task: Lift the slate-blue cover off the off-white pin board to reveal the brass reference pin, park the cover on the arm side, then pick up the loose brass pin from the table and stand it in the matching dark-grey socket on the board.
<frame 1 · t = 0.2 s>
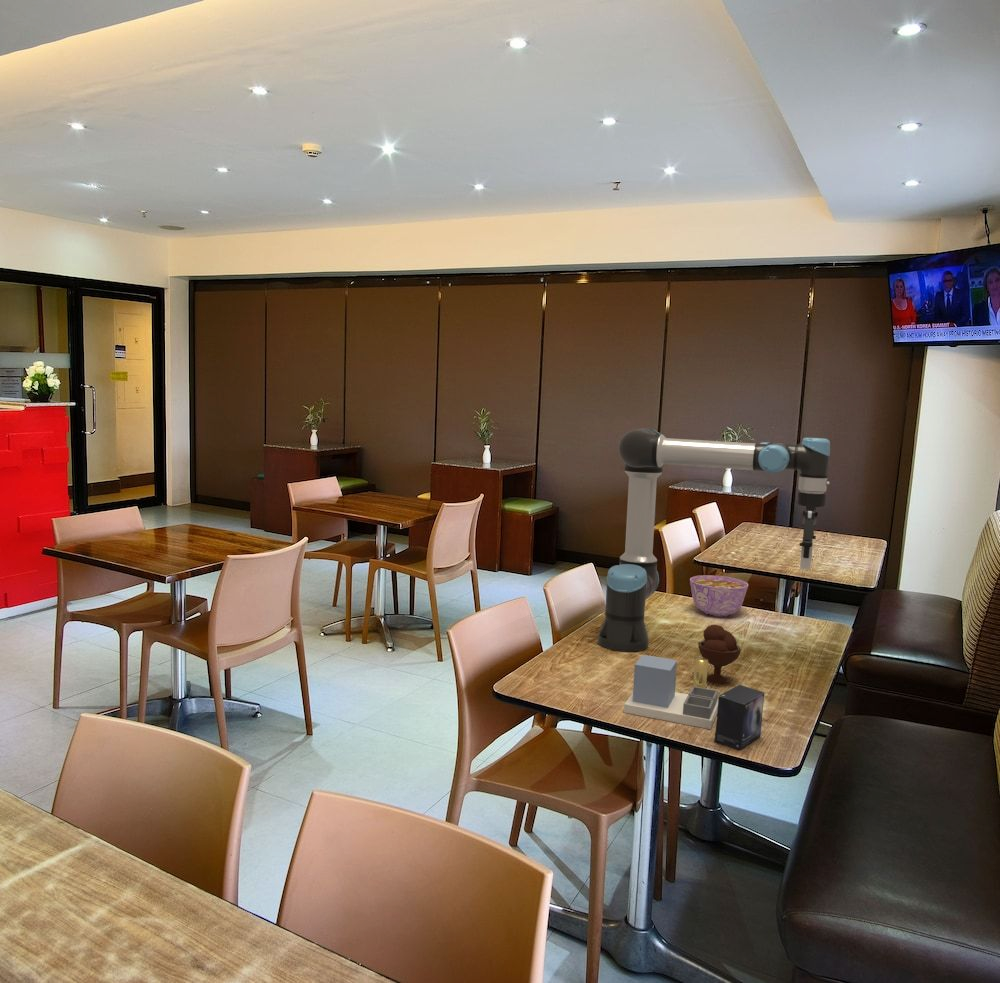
hand: (805, 565, 228), 28 cm above the table, fingers open, 13 cm apart
cover: (653, 698, 189), point 2 cm above the table, touching pin board
pin board: (672, 710, 188), on the table
ice cream bowl: (716, 681, 209), on the table
bowl of food: (716, 614, 278), on the table
small box: (738, 740, 173), on the table
brass pin: (698, 698, 196), on the table
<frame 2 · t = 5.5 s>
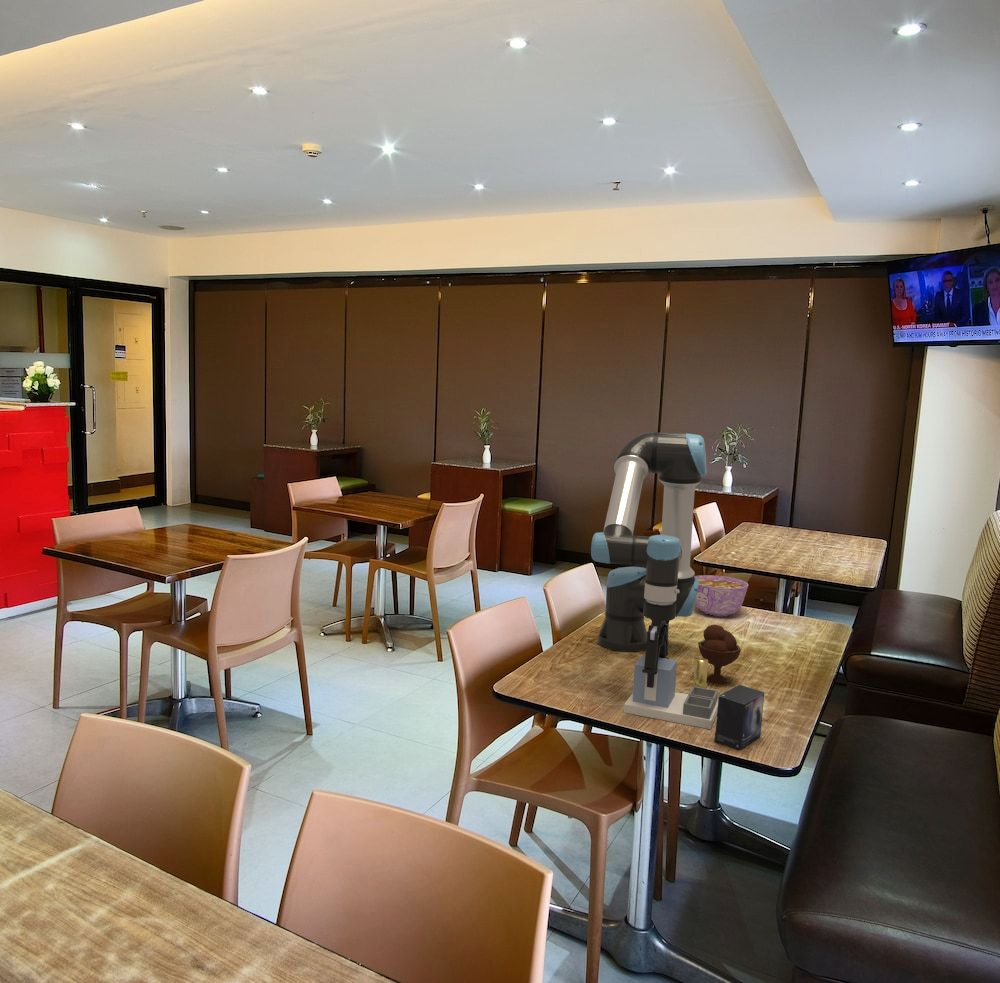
hand: (654, 693, 189), 3 cm above the table, fingers closed on cover, 8 cm apart
cover: (653, 698, 189), point 2 cm above the table, touching gripper, pin board
everything else where it was.
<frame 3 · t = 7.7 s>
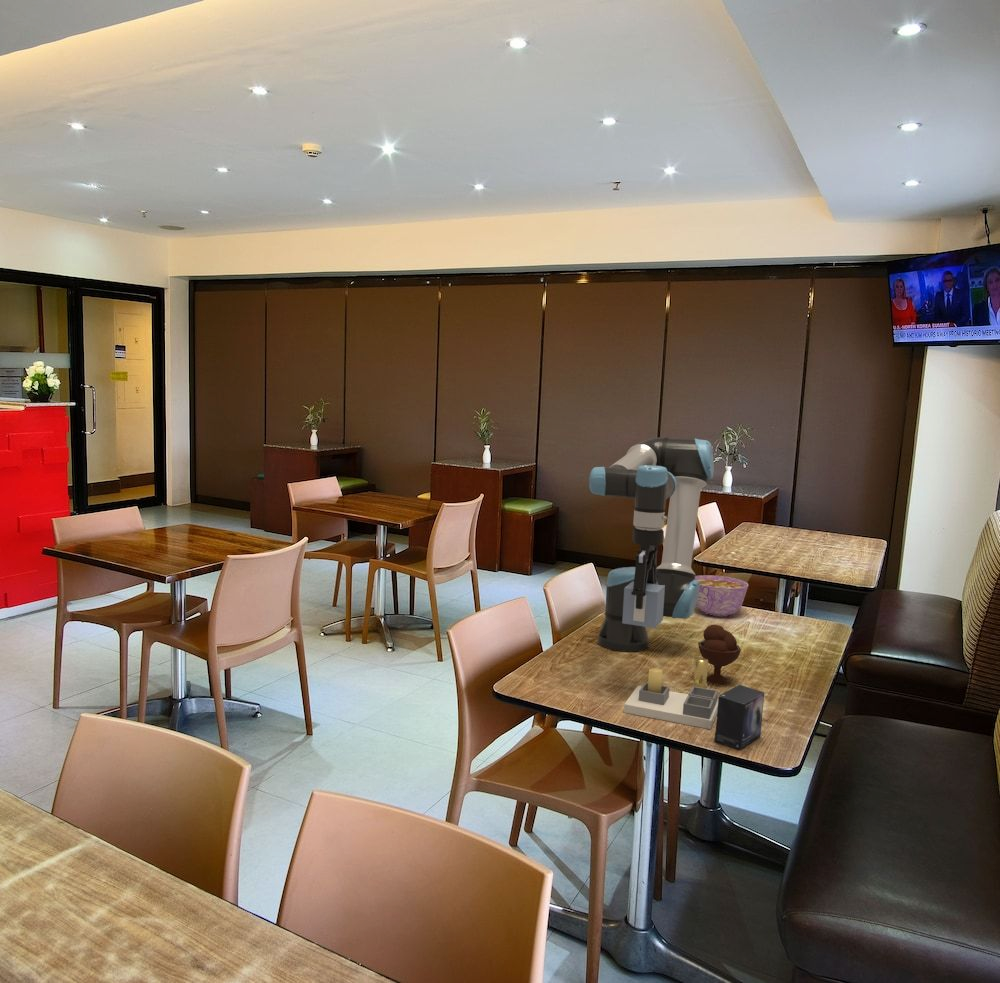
hand: (643, 616, 199), 19 cm above the table, fingers closed on cover, 8 cm apart
cover: (642, 621, 199), point 18 cm above the table, touching gripper
everything else where it was.
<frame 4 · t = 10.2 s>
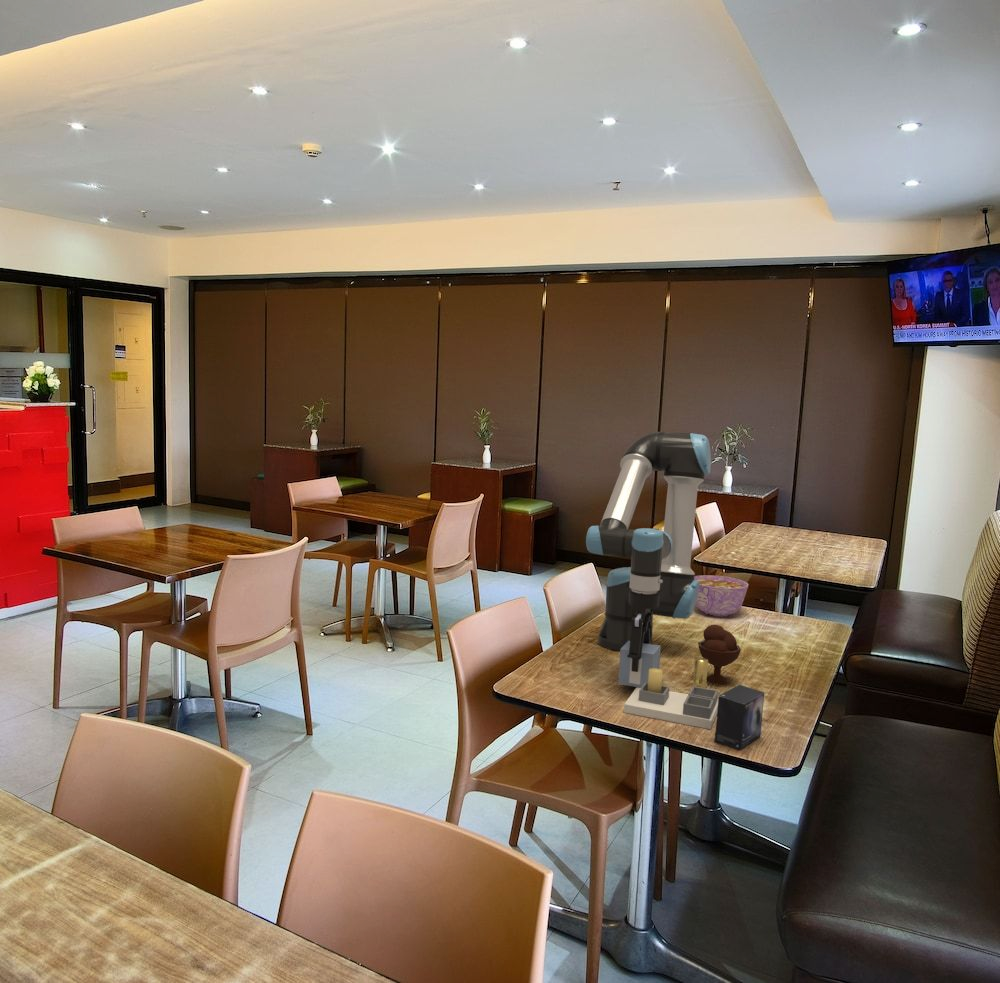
hand: (638, 677, 200), 3 cm above the table, fingers closed on cover, 8 cm apart
cover: (638, 681, 200), point 2 cm above the table, touching gripper, pin board
everything else where it was.
when the fingers open (3 cm above the table, at t = 10.6 s): cover stays where it is, resting on pin board.
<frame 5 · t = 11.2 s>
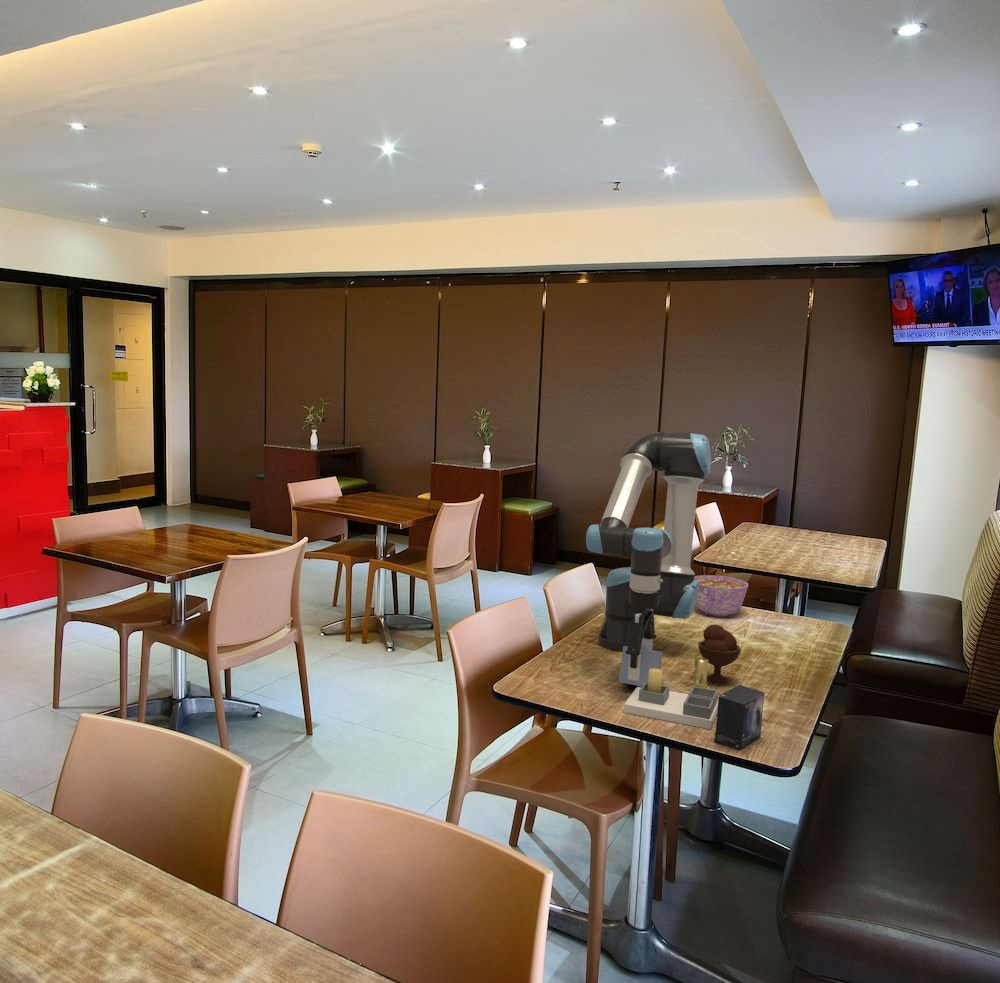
hand: (639, 671, 200), 5 cm above the table, fingers open, 13 cm apart
cover: (638, 684, 200), point 1 cm above the table, tilted 16°, touching pin board
everything else where it was.
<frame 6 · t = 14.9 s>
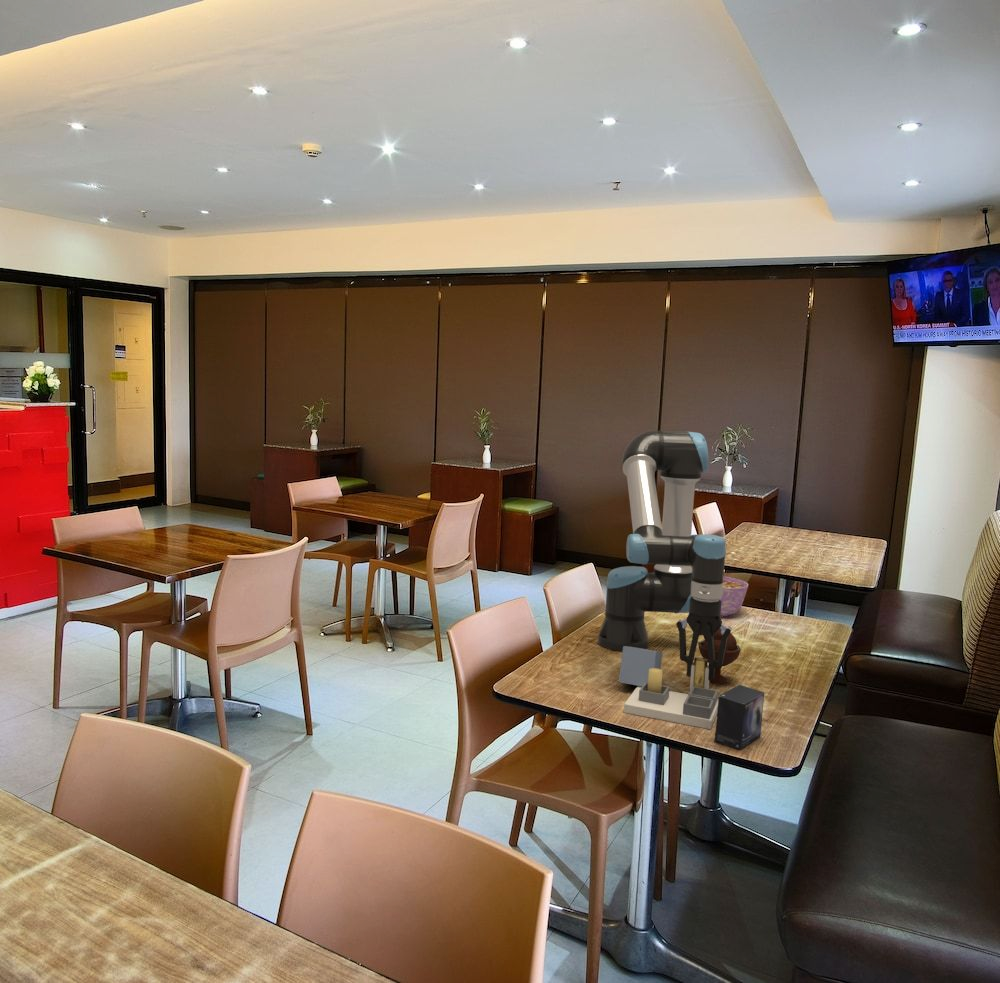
hand: (699, 690, 196), 2 cm above the table, fingers closed on brass pin, 3 cm apart
brass pin: (698, 698, 196), on the table, touching gripper
everything else where it was.
when the fingers open (6 cm above the table, at t = 19.5 s): brass pin drops 1 cm, resting on pin board.
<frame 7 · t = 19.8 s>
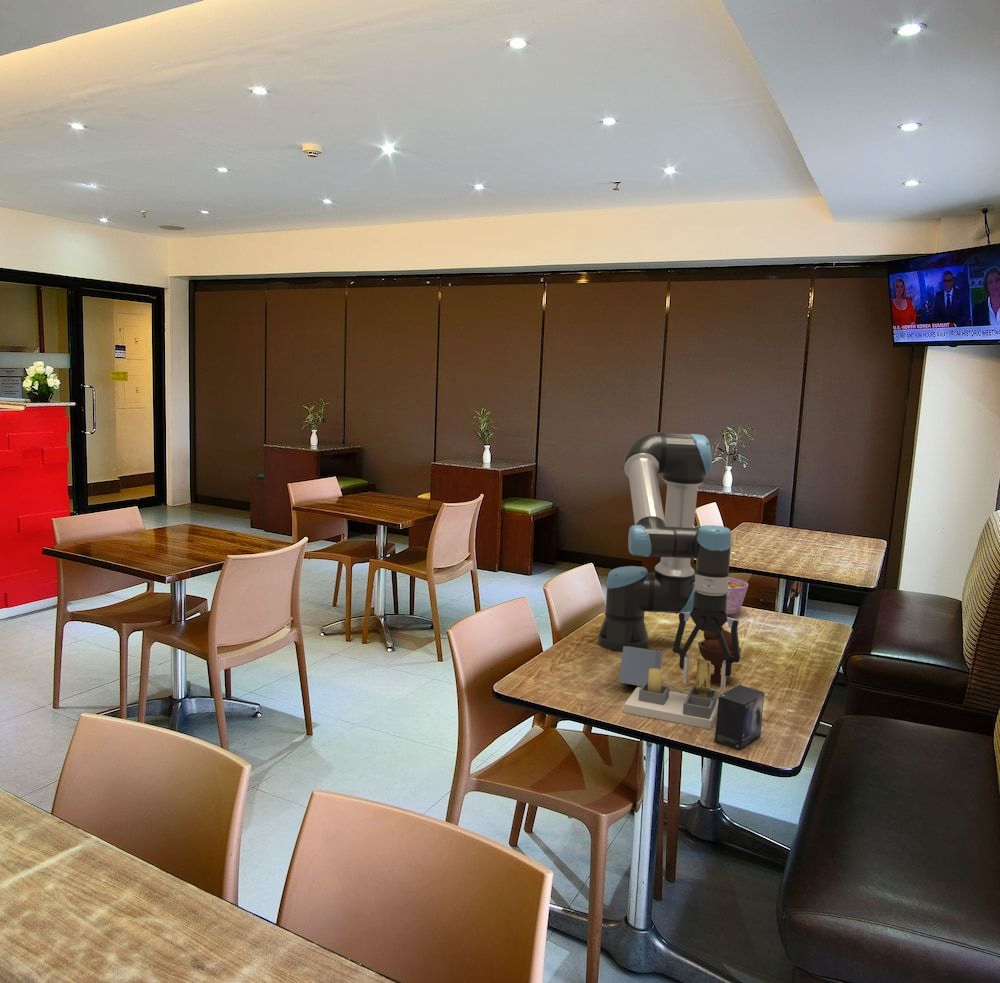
hand: (703, 685, 187), 6 cm above the table, fingers open, 8 cm apart
brass pin: (702, 702, 188), point 2 cm above the table, touching pin board
everything else where it was.
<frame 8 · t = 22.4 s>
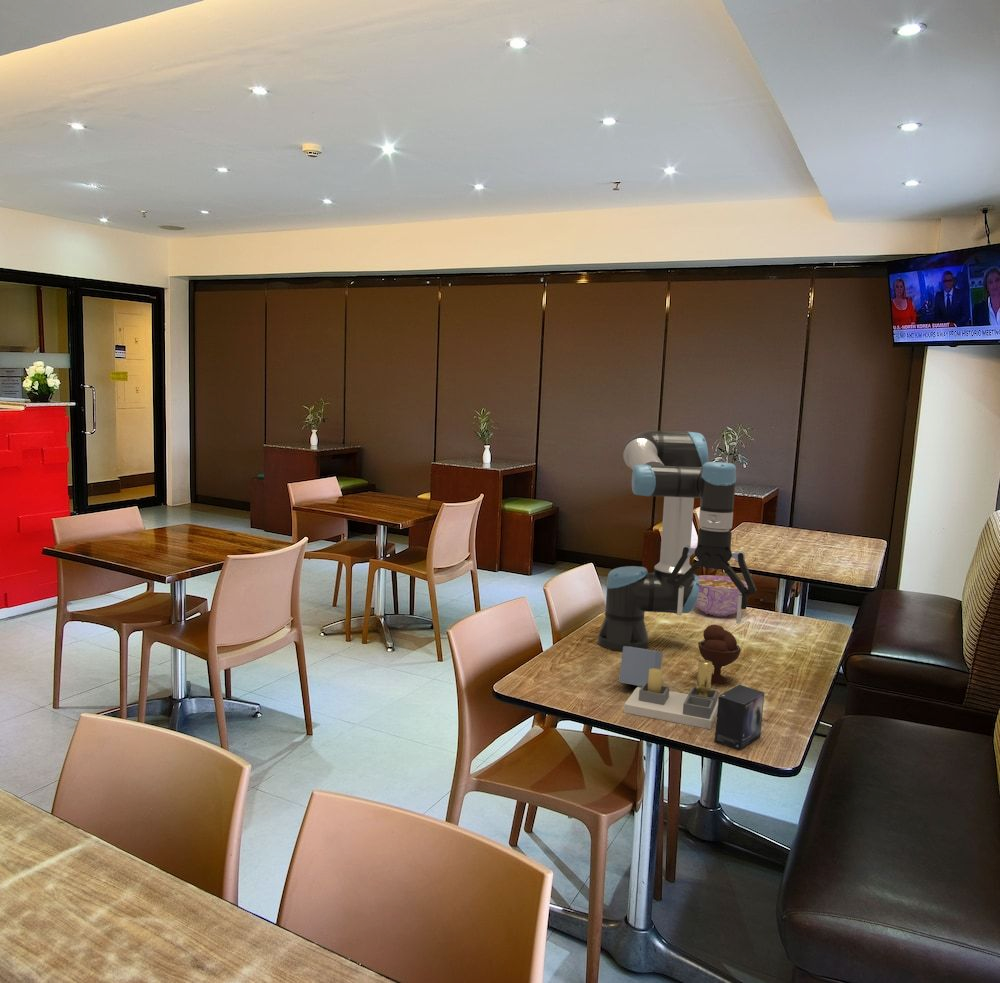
hand: (708, 618, 185), 23 cm above the table, fingers open, 13 cm apart
nothing on the table moved.
at the end: brass pin 0.1 cm from the target spot on the pin board, point 2.0 cm above the pin board's base; brass pin tilted 0°; cover moved 11.5 cm from its start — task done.
